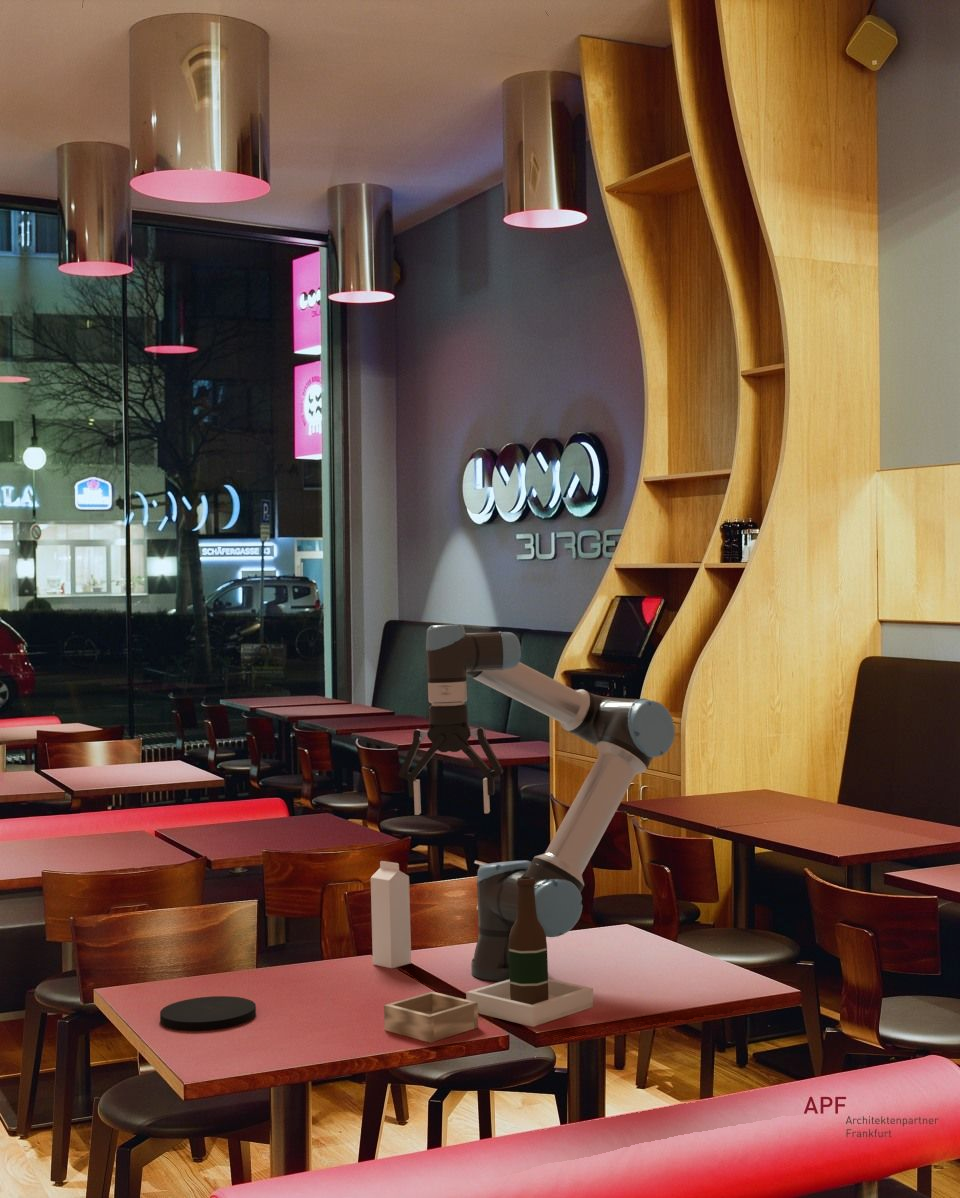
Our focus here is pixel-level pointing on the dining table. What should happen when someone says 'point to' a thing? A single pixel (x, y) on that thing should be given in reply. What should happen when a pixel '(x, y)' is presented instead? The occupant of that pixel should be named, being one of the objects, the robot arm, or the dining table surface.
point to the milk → (390, 916)
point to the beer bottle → (528, 949)
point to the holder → (431, 1016)
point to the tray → (558, 1005)
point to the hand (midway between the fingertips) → (452, 813)
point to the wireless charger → (207, 1013)
